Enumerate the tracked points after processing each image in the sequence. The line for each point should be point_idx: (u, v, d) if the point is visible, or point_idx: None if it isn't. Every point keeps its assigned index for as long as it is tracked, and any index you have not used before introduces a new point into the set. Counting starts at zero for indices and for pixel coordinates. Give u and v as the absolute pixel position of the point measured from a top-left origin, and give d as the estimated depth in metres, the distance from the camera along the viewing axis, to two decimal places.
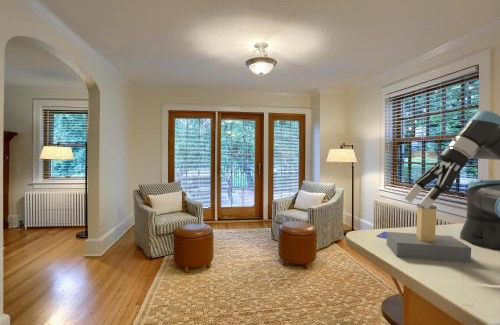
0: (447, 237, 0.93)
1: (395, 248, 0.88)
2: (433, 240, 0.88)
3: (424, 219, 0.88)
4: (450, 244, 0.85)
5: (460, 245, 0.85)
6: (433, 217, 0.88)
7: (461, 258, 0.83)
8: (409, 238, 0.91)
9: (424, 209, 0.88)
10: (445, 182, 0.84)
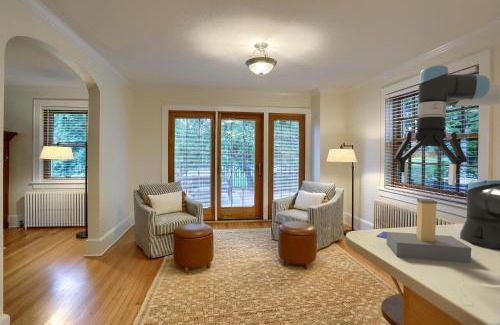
0: (447, 237, 0.93)
1: (395, 248, 0.88)
2: (433, 235, 0.88)
3: (424, 214, 0.88)
4: (450, 244, 0.85)
5: (460, 245, 0.85)
6: (433, 212, 0.88)
7: (461, 258, 0.83)
8: (409, 238, 0.91)
9: (424, 204, 0.88)
10: None
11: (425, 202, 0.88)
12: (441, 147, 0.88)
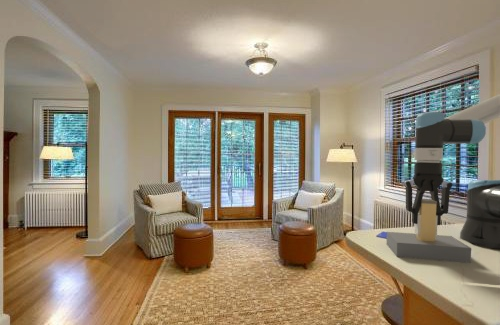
0: (447, 237, 0.93)
1: (395, 248, 0.88)
2: (433, 235, 0.88)
3: (424, 214, 0.88)
4: (450, 244, 0.85)
5: (460, 245, 0.85)
6: (433, 212, 0.88)
7: (461, 258, 0.83)
8: (409, 238, 0.91)
9: (424, 204, 0.88)
10: None
11: (425, 202, 0.88)
12: (432, 193, 0.89)
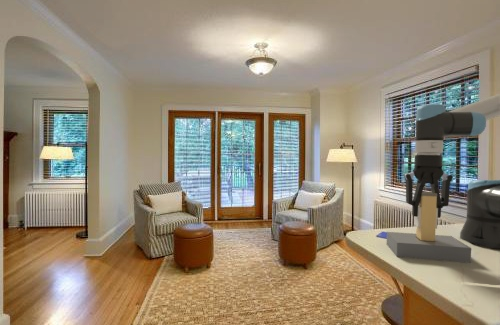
0: (447, 237, 0.93)
1: (395, 248, 0.88)
2: (433, 227, 0.88)
3: (424, 206, 0.88)
4: (450, 244, 0.85)
5: (460, 245, 0.85)
6: (433, 205, 0.88)
7: (461, 258, 0.83)
8: (409, 238, 0.91)
9: (424, 196, 0.88)
10: None
11: (425, 195, 0.88)
12: (433, 186, 0.89)
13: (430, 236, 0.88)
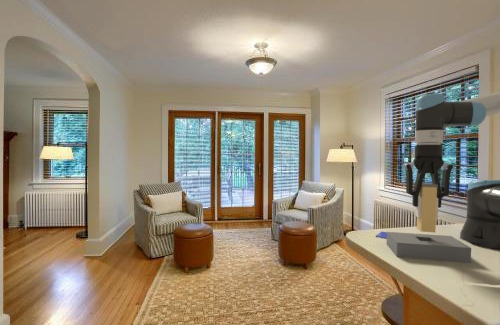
0: (447, 237, 0.93)
1: (395, 248, 0.88)
2: (434, 218, 0.88)
3: (425, 197, 0.88)
4: (450, 244, 0.85)
5: (460, 245, 0.85)
6: (433, 196, 0.88)
7: (461, 258, 0.83)
8: (409, 238, 0.91)
9: (425, 187, 0.88)
10: None
11: (426, 186, 0.88)
12: (433, 176, 0.89)
13: (430, 227, 0.88)
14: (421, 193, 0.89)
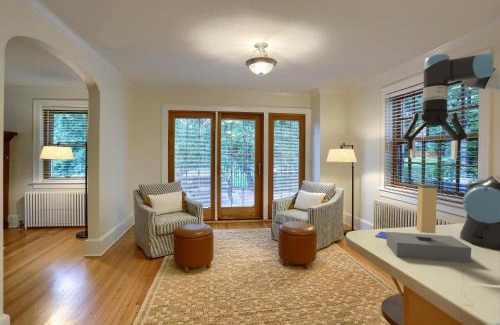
0: (447, 237, 0.93)
1: (395, 248, 0.88)
2: (434, 219, 0.88)
3: (424, 198, 0.88)
4: (450, 244, 0.85)
5: (460, 245, 0.85)
6: (433, 197, 0.88)
7: (461, 258, 0.83)
8: (409, 238, 0.91)
9: (425, 188, 0.88)
10: None
11: (426, 187, 0.88)
12: (444, 126, 1.01)
13: (430, 228, 0.88)
14: (421, 194, 0.89)
